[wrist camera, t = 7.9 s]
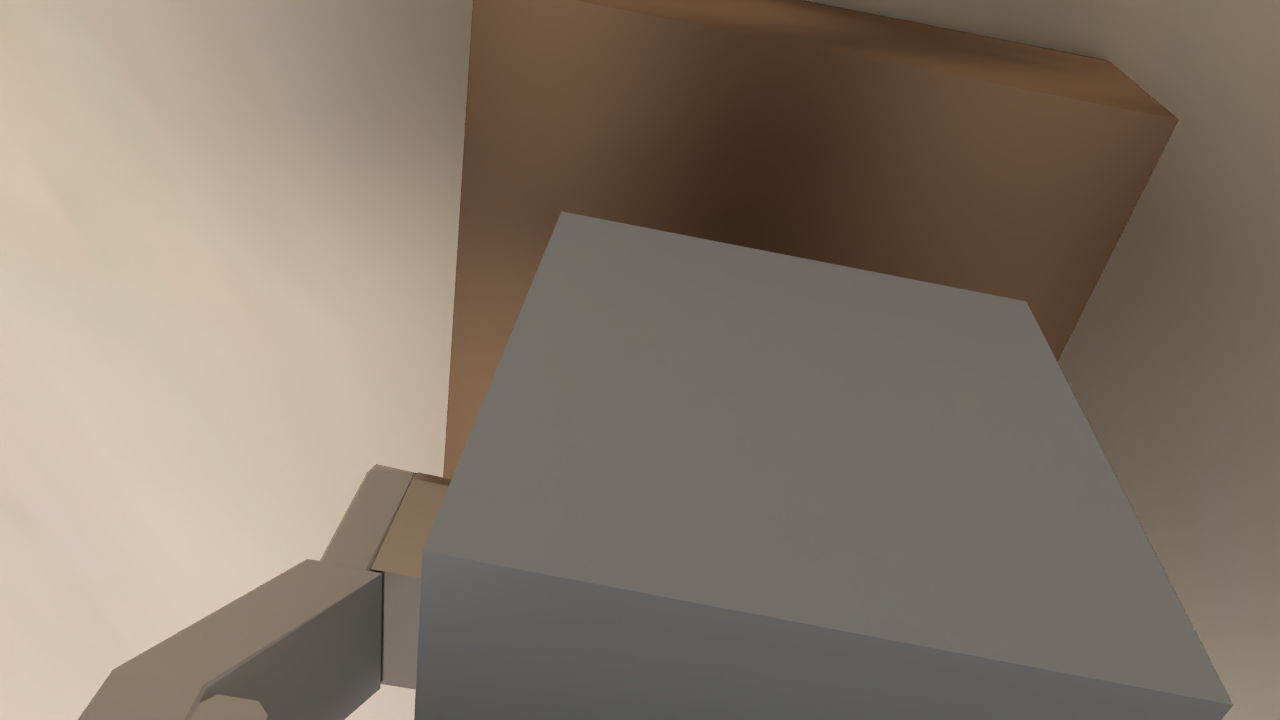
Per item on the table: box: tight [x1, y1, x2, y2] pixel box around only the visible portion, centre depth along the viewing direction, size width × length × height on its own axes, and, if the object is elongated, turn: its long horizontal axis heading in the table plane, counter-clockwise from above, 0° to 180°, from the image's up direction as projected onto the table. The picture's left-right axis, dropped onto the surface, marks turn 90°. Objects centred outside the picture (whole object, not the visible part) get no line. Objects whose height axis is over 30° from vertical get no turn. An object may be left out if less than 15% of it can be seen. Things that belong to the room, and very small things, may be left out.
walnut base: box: [443, 0, 1179, 480], centre depth 17 cm, size 10×10×3 cm
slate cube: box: [414, 211, 1233, 720], centre depth 11 cm, size 6×6×6 cm
